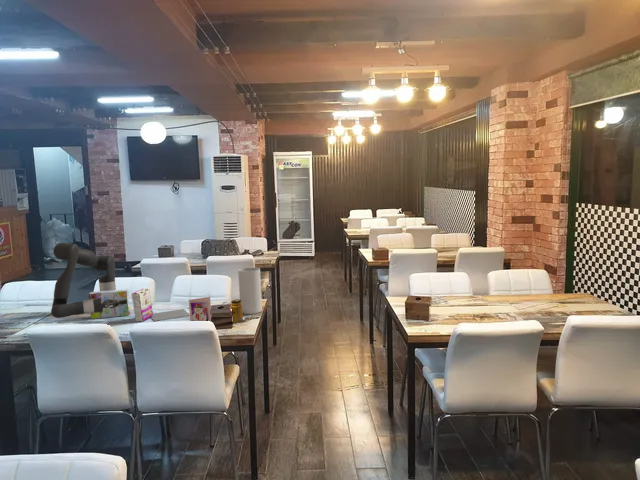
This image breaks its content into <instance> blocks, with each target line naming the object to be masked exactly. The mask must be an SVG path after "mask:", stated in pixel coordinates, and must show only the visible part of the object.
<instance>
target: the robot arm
mask: <svg viewBox="0 0 640 480" xmlns="http://www.w3.org/2000/svg"><path fill="white" fill-rule="evenodd" d="M52 251H53V256H54V258H56V259H57V260H61V261H67V262H66V263H67V264H66V267H65V268H64V270H63V272H62V273H61V274H60V275H59V276H58V278H57V280H56V282H55V285H54V289H53V290H54V291H53V299H52V305H51V309H50V314H51V315H52V316H53V318H57V319H61V318H67V317H72V316H79V315H89V314H90V315H91V313H98V312H103V308H110V309H111V308H114V307H117V306H119V305H122V304H127V300H109V299H108V300H105V301H104V302H102V299H101V298H99V299H91V300H89V299H86V300H82V301H73V302H71V303H68V298H69V296H70V295H69V294H70V290H71V289H70V287H71V282H72V279H73V274H74V271H75V269H76V266H77V265H80V266H83V267H86V268H87V267H89V268H92V269H94V270H96V271H98V272H99V271H100V272H103V271H104V272H106V273H105V274H104V275H101V276H100V277H99V278H98V286H99V291H111V290H117V289H116V286H117V285H116V263H115V258H114V257H113V256H112V255H96V253H95V252H94V251H92V250H89V249H85V248H80V247H79V245H78V244H76V243H71V242H58V243H57V244H55V246H54V247H53V250H52Z"/></svg>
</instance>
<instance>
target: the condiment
mask: <svg viewBox="0 0 640 480" xmlns="http://www.w3.org/2000/svg"><path fill="white" fill-rule="evenodd" d="M230 302H231V305H230V310H231V309H232V316H233V323H232V324H234V325H239V324H242V323H245V322H248V321H249V319H244V315H243V311H242V305H241V300H240V298H239V299H231V301H230ZM232 316H231V317H232Z"/></svg>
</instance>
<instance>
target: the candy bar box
mask: <svg viewBox="0 0 640 480" xmlns="http://www.w3.org/2000/svg"><path fill="white" fill-rule="evenodd" d="M150 292H151V291H150V288H149V287H148V288H140V289H139V290H136V291H134V292H132V293H131V299H132V306H133V313H134V319H135V322H137V323H138V322H139V323H141V322H145V321H146V320H148V319H150V318H151V316H153V313H154V312H153V304H152V300H151V293H150Z"/></svg>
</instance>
